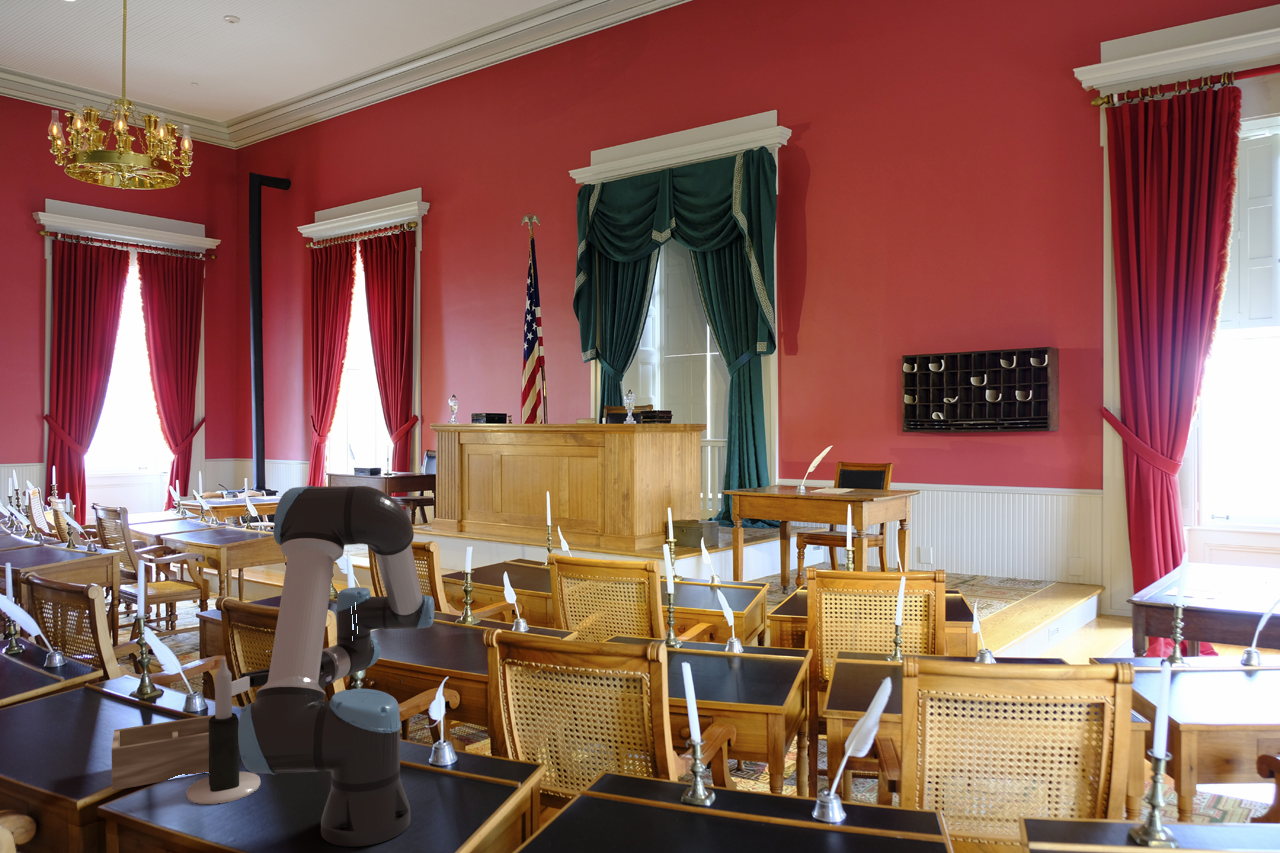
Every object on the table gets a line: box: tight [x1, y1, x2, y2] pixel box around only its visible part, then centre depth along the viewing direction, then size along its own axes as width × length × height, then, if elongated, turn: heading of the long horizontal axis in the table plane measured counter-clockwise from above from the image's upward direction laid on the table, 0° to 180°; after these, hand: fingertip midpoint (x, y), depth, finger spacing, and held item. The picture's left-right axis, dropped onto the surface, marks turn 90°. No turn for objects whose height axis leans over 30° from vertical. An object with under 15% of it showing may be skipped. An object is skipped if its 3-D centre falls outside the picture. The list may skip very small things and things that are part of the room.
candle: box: [208, 656, 240, 792], centre depth 168 cm, size 5×5×25 cm
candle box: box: [111, 714, 215, 792], centre depth 178 cm, size 12×22×8 cm, turn 119°
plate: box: [185, 771, 261, 805], centre depth 168 cm, size 13×13×1 cm
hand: (247, 696), depth 174 cm, fingers open, 13 cm apart
